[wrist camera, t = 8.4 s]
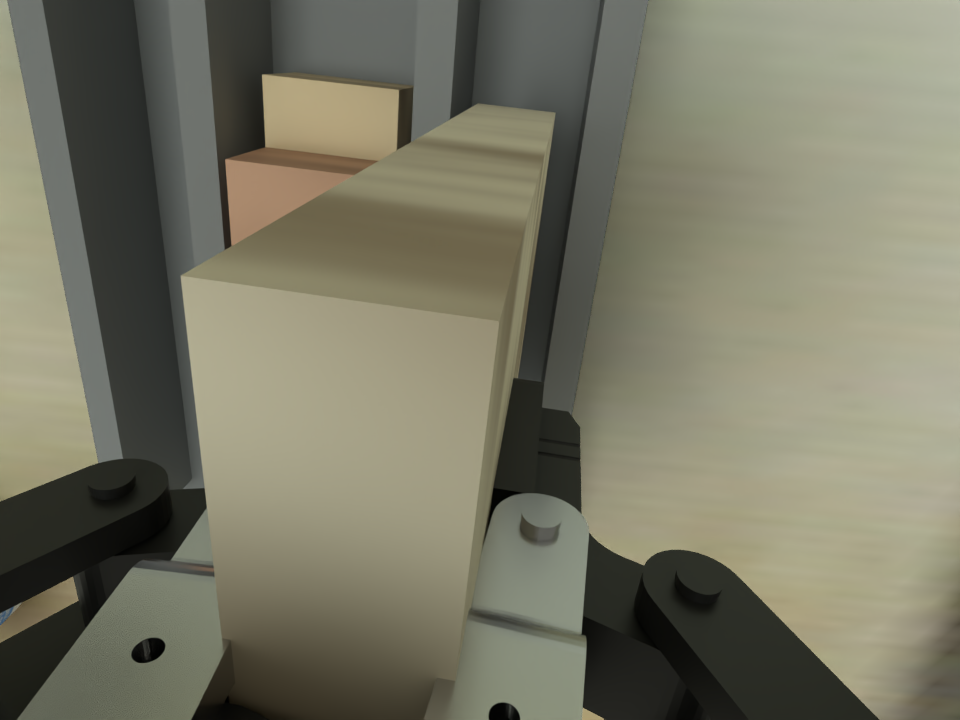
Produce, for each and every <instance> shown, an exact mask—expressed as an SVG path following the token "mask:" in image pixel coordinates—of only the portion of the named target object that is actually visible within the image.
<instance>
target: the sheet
mask: <svg viewBox="0 0 960 720" xmlns="http://www.w3.org/2000/svg"><path fill="white" fill-rule="evenodd" d="M555 114H556V113H555V112H546V111H538V110H529V109H521V108H513V107H504V106H496V105H487V104H479V103H478V104H476V105H474V106H473V107H471V108H469V109H467V110H466V111H464V112H462V113H461V114H459V115H457V116H455V117H454V118H452V119H450V120H448V121H447V122H445V123H443V124H442V125H440V126H438V127H436V128H435V129H433V130H431V131H429V132H428V133H426V134H424V135H423V136H421V137H419V138H417V139H416V140H414V141H412V142H411V143H409V144H407V145H405V146H404V147H402V148H400V149H398V150H397V151H395V152H393V153H392V154H390V155H388V156H386V157H385V158H383V159H381V160H379V161H378V162H376V163H374V164H373V165H371V166H369V167H367V168H366V169H364V170H362V171H360V172H359V173H357V174H355V175H354V176H352V177H350V178H348V179H347V180H345V181H343V182H341V183H340V184H338V185H336V186H335V187H333V188H331V189H329V190H328V191H326V192H324V193H322V194H321V195H319V196H317V197H316V198H314V199H312V200H310V201H309V202H307V203H305V204H304V205H302V206H300V207H298V208H297V209H295V210H293V211H291V212H290V213H288V214H286V215H285V216H283V217H281V218H279V219H278V220H276V221H274V222H272V223H271V224H269V225H267V226H266V227H264V228H262V229H260V230H259V231H257V232H255V233H253V234H252V235H250V236H248V237H247V238H245V239H243V240H241V241H240V242H238V243H236V244H234V245H233V246H231V247H229V248H228V249H226V250H224V251H222V252H221V253H219V254H217V255H215V256H214V257H212V258H210V259H209V260H207V261H205V262H203V263H202V264H200V265H198V266H197V267H195V268H193V269H191V270H190V271H188V272H186V273H184V274H183V275H181V284H182V293H183V302H184V311H185V319H186V328H187V337H188V346H189V355H190V363H191V372H192V381H193V390H194V398H195V407H196V416H197V425H198V434H199V442H200V451H201V460H202V469H203V478H204V486H205V495H206V504H207V513H208V521H209V530H210V539H211V548H212V557H213V565H214V574H215V583H216V592H217V601H218V609H219V618H220V627H221V636H222V638H224V639H229V640H231V648H232V657H233V666H234V676H235V684H234V686H233V687H232V689H231V691H230V692H229V694H228V697H229V703H231V704H236V705H241V706H244V707H246V708H248V709H249V710H251V711H253V712H255V713H257V714H259V715H261V716H263V717H265V718H267V719H269V720H424V717H425V714H426V711H427V707H428V704H429V701H430V698H431V694H432V691H433V688H434V685H435V681H436V678H442V679H447V680H453V681H455V680H456V675H457V669H458V664H459V659H460V653H461V648H462V643H463V637H464V632H465V626H466V621H467V616H468V612H469V608H471V605H472V600H473V595H474V589H475V584H476V578H477V573H478V567H479V562H480V556H481V552H482V548H483V545H484V541H485V538H486V535H487V531H488V524H489V516H490V509H491V501H492V494H493V487H494V481H495V476H496V470H497V465H498V459H499V454H500V449H501V443H502V438H503V432H504V427H505V421H506V416H507V410H508V405H509V399H510V394H511V388H512V383H513V378H518V374H519V367H520V360H521V353H522V346H523V339H524V332H525V325H526V318H527V311H528V304H529V297H530V290H531V283H532V276H533V269H534V262H535V255H536V248H537V241H538V234H539V227H540V220H541V213H542V206H543V199H544V192H545V184H546V177H547V170H548V163H549V156H550V149H551V142H552V135H553V128H554V121H555Z"/></svg>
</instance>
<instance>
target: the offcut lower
mask: <svg viewBox="0 0 960 720" xmlns="http://www.w3.org/2000/svg"><path fill="white" fill-rule="evenodd" d="M262 84H263V105H264V126H265V147H268V148H277V149H285V150H293V151H301V152H309V153H317V154H326V155H334V156H342V157H350V158H358V159H366V160H375V161H379V160H381V159H383V158H385V157H386V156H388V155H390V154H392V153H393V152H395V151H397V150H398V149H400V148H402V147H404V146H405V145H407V144H409V143H411V133H412V112H413V91H414V86H412V85H403V84H394V83H386V82H377V81H368V80H359V79H350V78H341V77H332V76H324V75H315V74H306V73H297V72H293V73H277V74H262Z"/></svg>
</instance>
